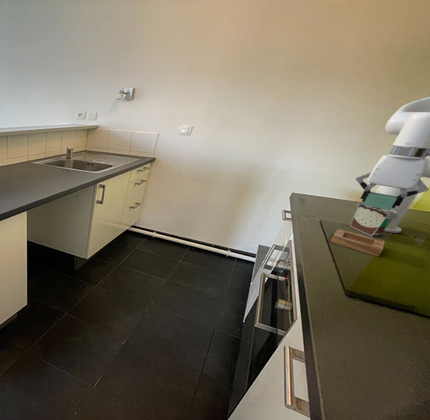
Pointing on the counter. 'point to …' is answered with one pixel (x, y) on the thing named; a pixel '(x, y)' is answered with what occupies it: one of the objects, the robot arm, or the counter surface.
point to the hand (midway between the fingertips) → (377, 203)
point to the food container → (372, 219)
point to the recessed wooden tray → (358, 242)
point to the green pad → (380, 200)
